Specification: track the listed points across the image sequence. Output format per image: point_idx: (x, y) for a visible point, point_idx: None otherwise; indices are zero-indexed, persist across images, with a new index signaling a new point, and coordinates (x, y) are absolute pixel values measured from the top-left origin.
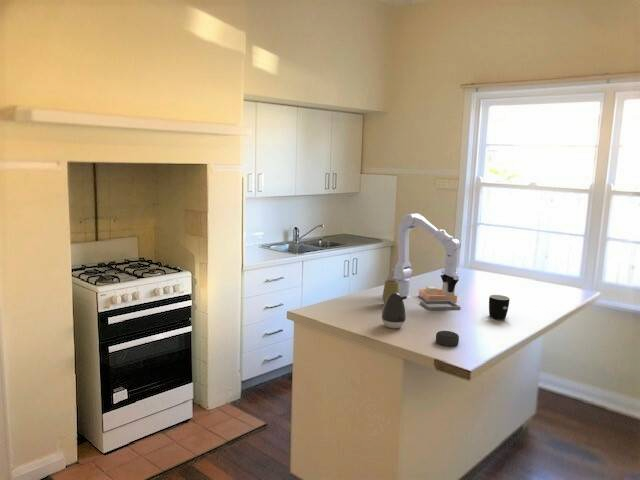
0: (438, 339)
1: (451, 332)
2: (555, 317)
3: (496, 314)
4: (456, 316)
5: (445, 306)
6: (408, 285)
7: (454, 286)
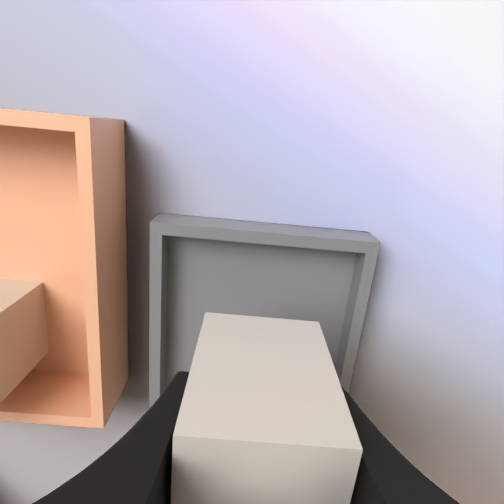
0: None
1: None
2: None
3: None
4: (490, 344)
5: (257, 314)
6: None
7: (392, 451)
